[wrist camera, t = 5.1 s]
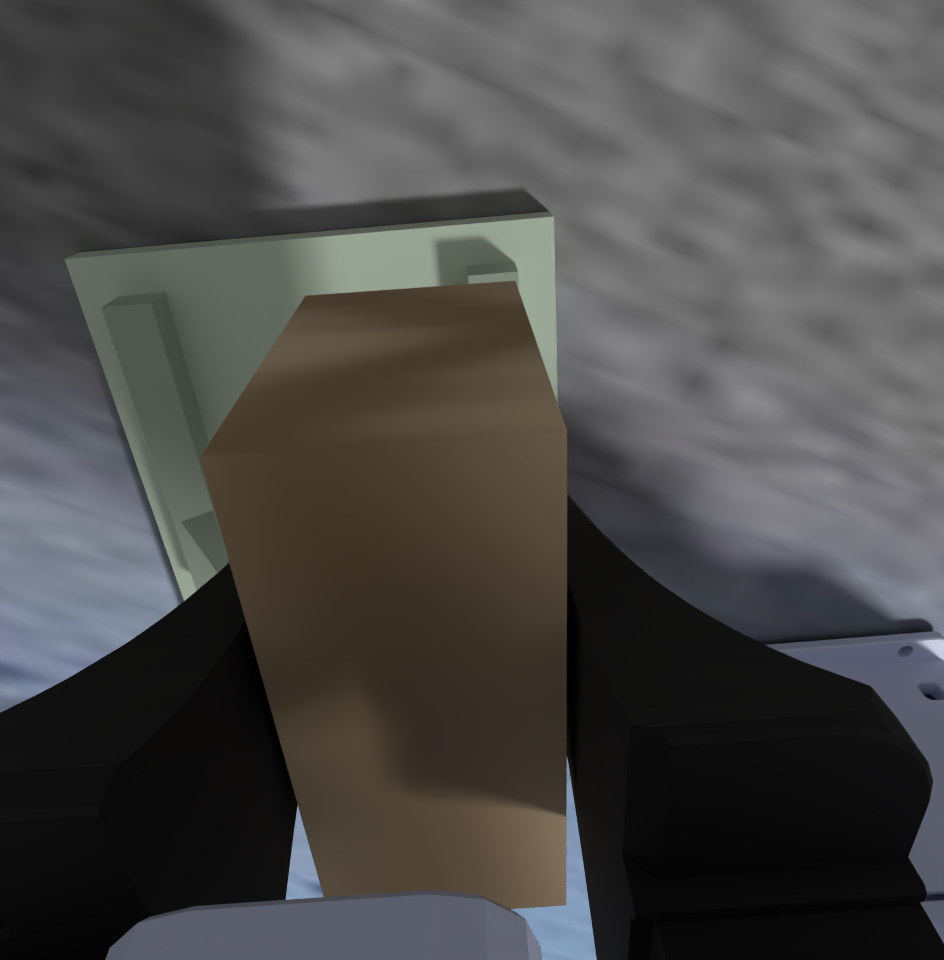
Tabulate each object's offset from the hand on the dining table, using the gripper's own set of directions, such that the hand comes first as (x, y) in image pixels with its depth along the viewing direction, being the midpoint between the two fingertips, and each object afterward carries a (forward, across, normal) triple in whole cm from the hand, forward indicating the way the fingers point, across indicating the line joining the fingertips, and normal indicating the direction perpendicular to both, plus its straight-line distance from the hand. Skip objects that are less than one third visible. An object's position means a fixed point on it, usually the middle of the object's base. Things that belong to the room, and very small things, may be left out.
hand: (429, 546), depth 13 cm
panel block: (+2, 0, 0) cm, 2 cm away
